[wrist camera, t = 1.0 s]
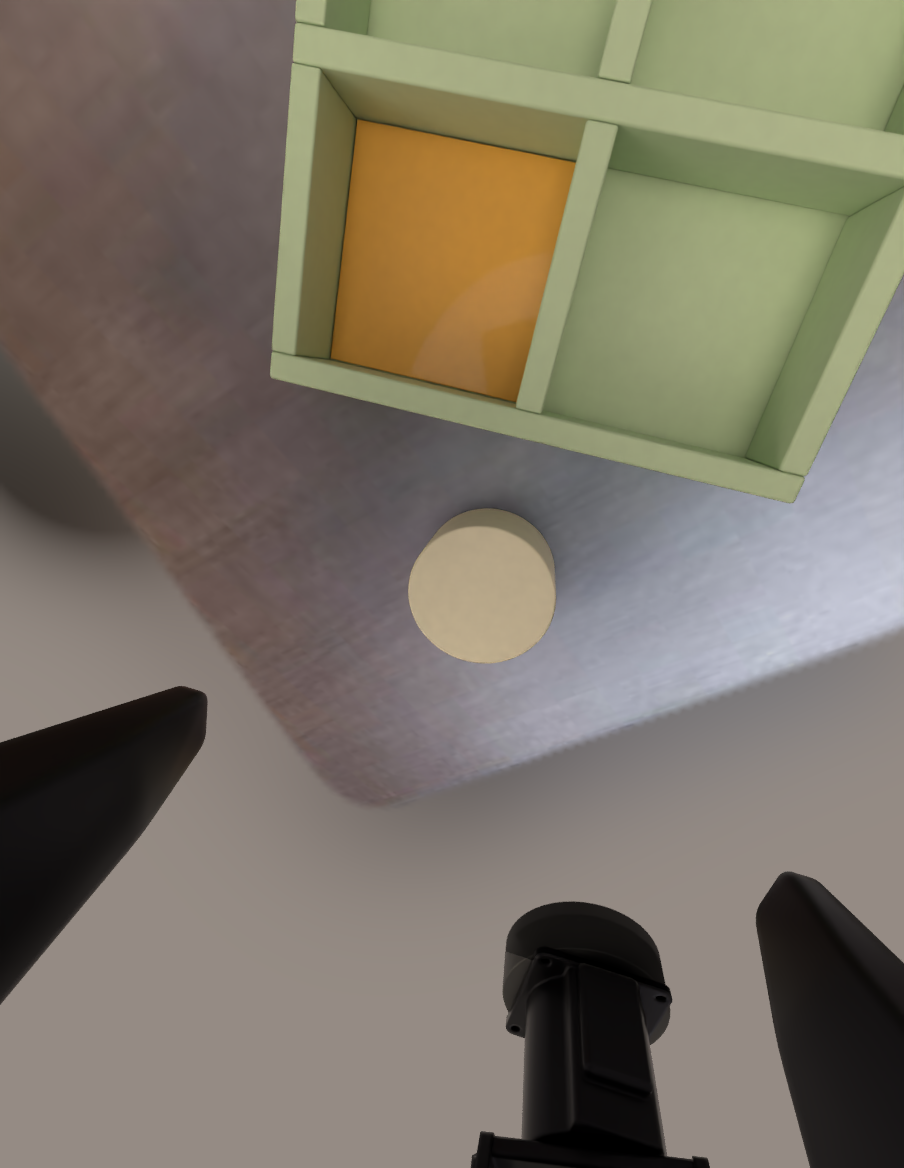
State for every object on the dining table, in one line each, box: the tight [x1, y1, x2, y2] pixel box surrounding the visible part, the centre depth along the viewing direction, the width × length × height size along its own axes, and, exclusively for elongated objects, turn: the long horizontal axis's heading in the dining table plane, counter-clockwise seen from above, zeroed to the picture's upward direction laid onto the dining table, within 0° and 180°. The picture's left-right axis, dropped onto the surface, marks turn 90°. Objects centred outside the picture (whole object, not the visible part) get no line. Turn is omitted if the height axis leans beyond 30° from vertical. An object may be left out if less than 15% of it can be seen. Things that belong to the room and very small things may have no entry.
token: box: [408, 508, 556, 663], centre depth 17 cm, size 5×5×2 cm
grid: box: [270, 0, 904, 503], centre depth 12 cm, size 14×14×3 cm
